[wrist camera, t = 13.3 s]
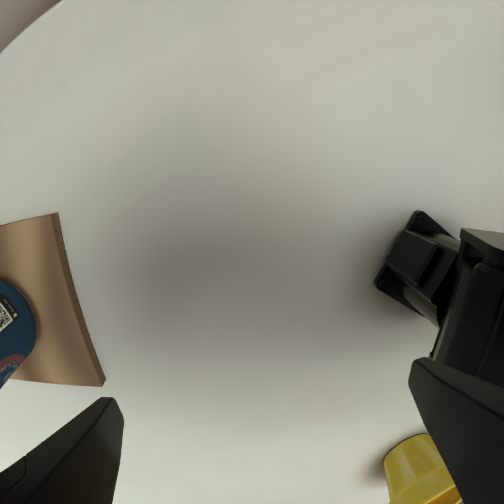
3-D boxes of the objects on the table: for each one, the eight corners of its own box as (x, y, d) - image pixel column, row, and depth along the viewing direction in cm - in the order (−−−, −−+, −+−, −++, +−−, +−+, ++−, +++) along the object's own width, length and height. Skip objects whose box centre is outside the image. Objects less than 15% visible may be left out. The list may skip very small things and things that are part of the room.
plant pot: (455, 430, 29) (489, 479, 19) (397, 479, 31) (420, 530, 21) (420, 412, 27) (462, 475, 17) (352, 468, 28) (376, 533, 19)
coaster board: (57, 212, 19) (50, 215, 18) (105, 379, 23) (102, 386, 22) (-49, 238, 18) (-55, 241, 17) (-3, 370, 22) (-8, 375, 21)
